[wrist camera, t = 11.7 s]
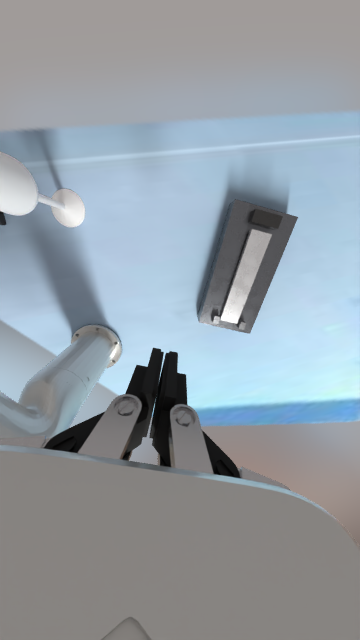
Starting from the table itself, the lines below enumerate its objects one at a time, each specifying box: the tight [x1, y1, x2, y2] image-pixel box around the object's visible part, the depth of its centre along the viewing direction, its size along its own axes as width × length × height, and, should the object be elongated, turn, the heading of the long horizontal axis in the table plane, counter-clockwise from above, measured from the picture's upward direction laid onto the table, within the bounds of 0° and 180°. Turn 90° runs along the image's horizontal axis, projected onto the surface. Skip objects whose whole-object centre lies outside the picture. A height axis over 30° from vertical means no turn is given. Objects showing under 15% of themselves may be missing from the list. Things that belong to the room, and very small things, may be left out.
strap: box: [220, 229, 272, 324], centre depth 36 cm, size 18×4×1 cm, turn 167°
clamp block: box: [197, 199, 298, 334], centre depth 37 cm, size 24×12×6 cm, turn 167°
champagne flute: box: [0, 152, 85, 227], centre depth 24 cm, size 7×7×24 cm
